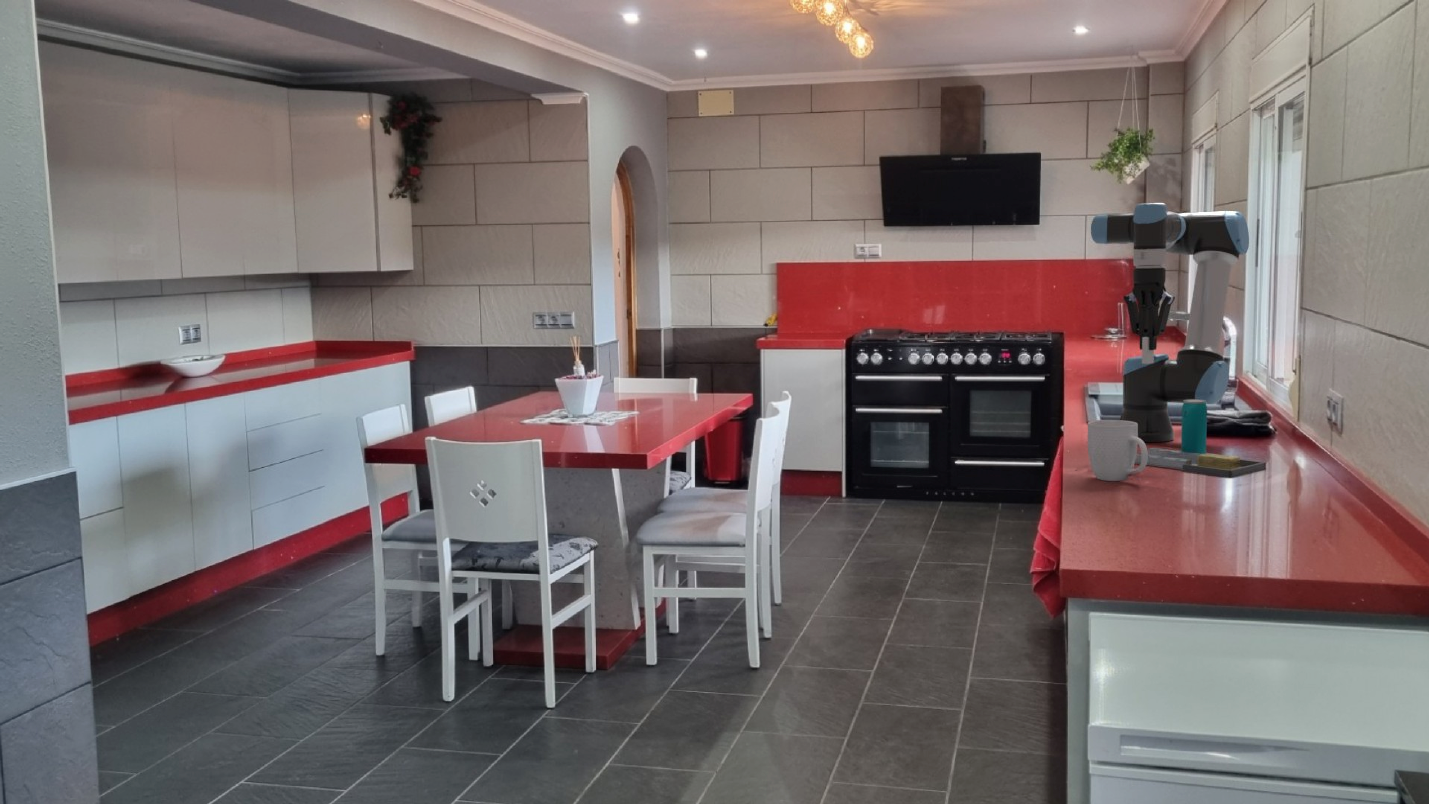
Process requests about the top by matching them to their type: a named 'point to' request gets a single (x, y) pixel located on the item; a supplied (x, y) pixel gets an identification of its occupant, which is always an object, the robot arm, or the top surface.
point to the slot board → (1169, 458)
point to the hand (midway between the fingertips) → (1147, 363)
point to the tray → (1245, 469)
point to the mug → (1114, 449)
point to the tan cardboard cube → (1226, 462)
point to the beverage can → (1194, 426)
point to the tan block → (1206, 460)
